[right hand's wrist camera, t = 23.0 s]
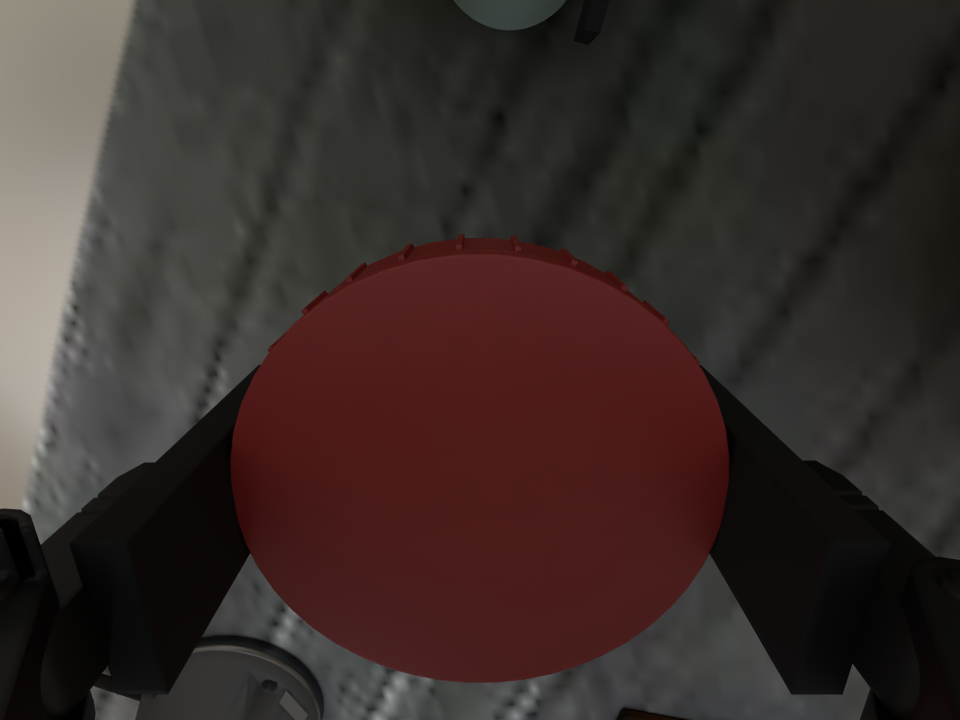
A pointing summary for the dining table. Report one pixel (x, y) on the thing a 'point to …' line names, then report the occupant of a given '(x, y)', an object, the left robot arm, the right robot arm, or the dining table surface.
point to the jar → (509, 12)
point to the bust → (640, 716)
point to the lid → (479, 462)
